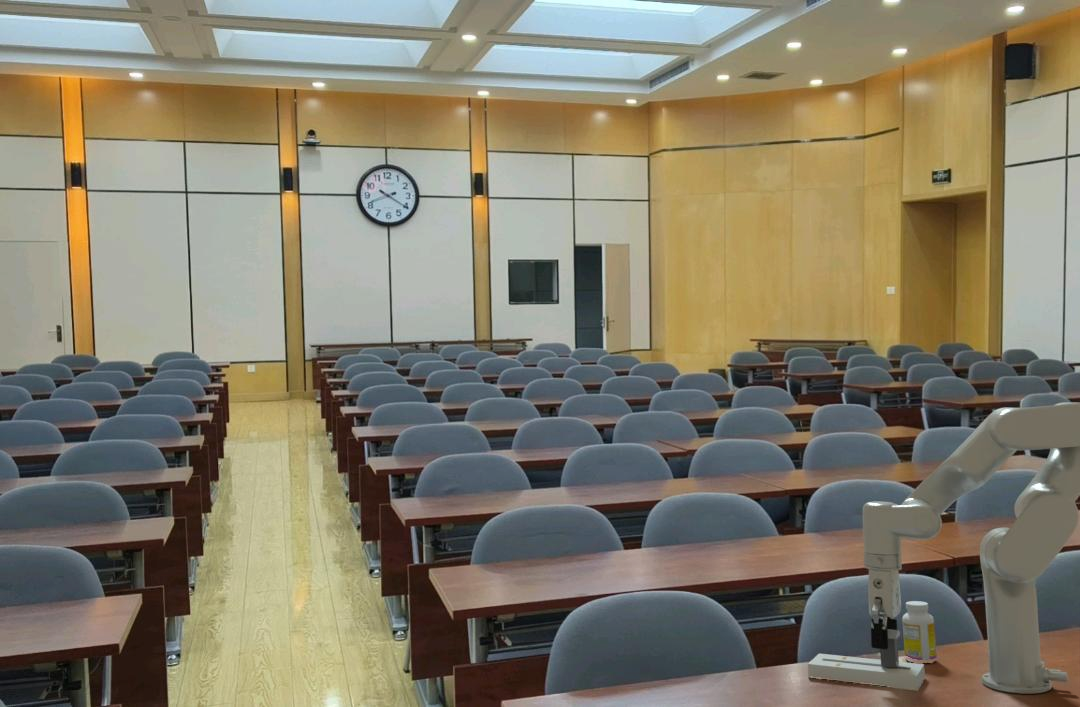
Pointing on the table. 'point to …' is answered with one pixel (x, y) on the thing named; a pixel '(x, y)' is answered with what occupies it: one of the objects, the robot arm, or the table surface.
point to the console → (867, 671)
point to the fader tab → (891, 650)
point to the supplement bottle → (919, 632)
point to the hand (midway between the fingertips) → (884, 642)
